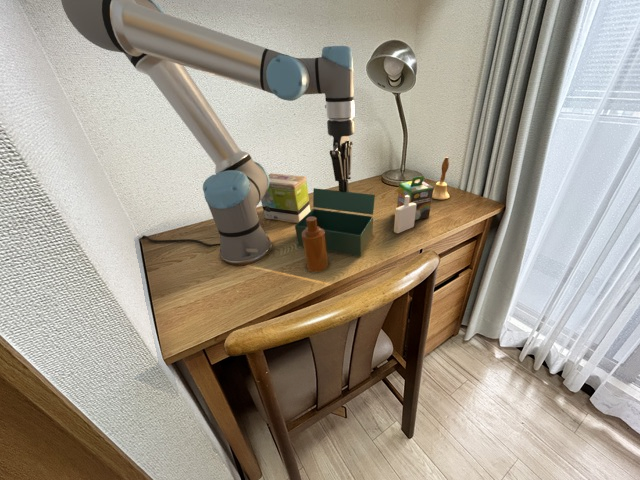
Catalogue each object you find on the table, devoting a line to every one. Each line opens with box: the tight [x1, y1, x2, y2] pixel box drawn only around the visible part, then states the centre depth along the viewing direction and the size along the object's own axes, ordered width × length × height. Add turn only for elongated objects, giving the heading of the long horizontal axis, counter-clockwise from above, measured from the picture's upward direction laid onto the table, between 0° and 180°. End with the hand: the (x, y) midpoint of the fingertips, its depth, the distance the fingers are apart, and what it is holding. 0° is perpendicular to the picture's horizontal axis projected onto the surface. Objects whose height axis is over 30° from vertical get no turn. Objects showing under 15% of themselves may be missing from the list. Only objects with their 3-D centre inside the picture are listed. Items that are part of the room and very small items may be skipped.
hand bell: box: [432, 156, 450, 201], centre depth 107 cm, size 8×8×16 cm
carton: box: [294, 208, 374, 257], centre depth 83 cm, size 21×13×7 cm, turn 70°
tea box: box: [260, 172, 311, 224], centre depth 97 cm, size 15×10×15 cm, turn 72°
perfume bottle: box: [393, 195, 416, 234], centre depth 86 cm, size 8×2×12 cm, turn 124°
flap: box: [312, 187, 376, 216], centre depth 84 cm, size 21×6×1 cm
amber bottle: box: [302, 217, 329, 273], centre depth 70 cm, size 6×6×15 cm
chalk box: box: [396, 175, 435, 221], centre depth 94 cm, size 9×9×15 cm
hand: (344, 199), depth 86 cm, fingers closed
